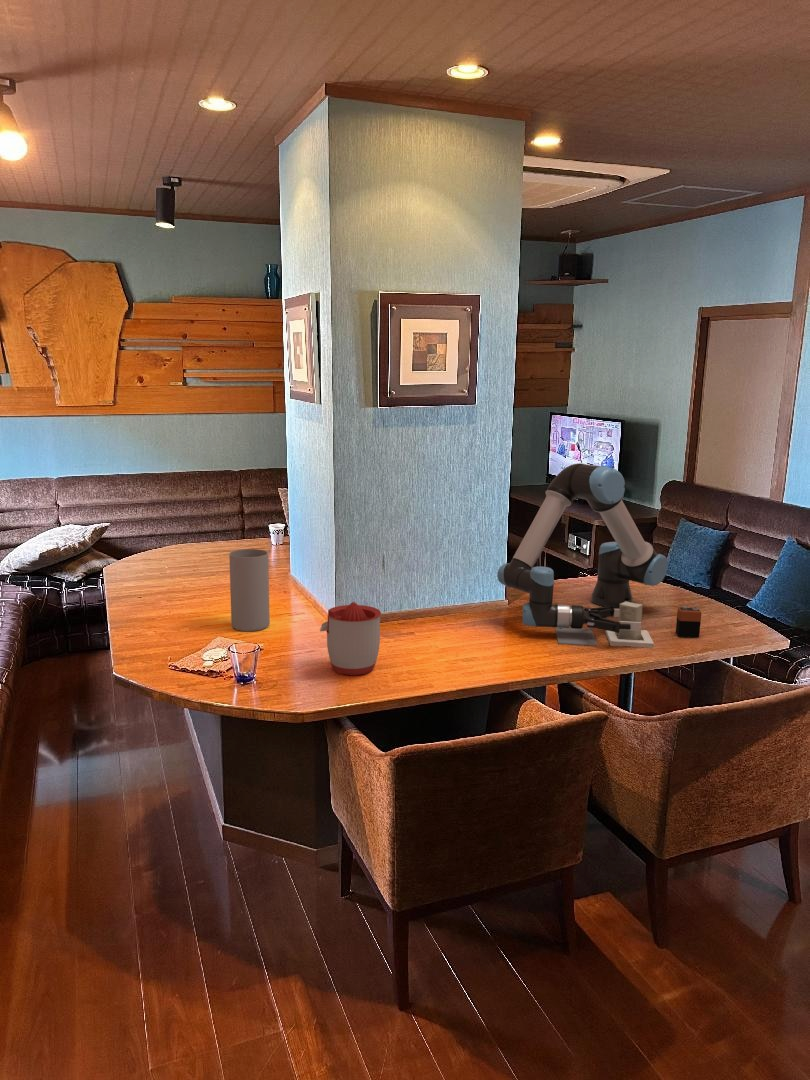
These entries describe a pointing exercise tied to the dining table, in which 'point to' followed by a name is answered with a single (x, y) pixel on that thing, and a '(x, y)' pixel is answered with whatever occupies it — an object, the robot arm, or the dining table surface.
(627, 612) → the skincare box
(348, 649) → the citrus juicer
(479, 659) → the dining table surface
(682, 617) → the battery
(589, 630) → the grey mat
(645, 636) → the white square frame
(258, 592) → the cylinder vase
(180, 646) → the dining table surface
